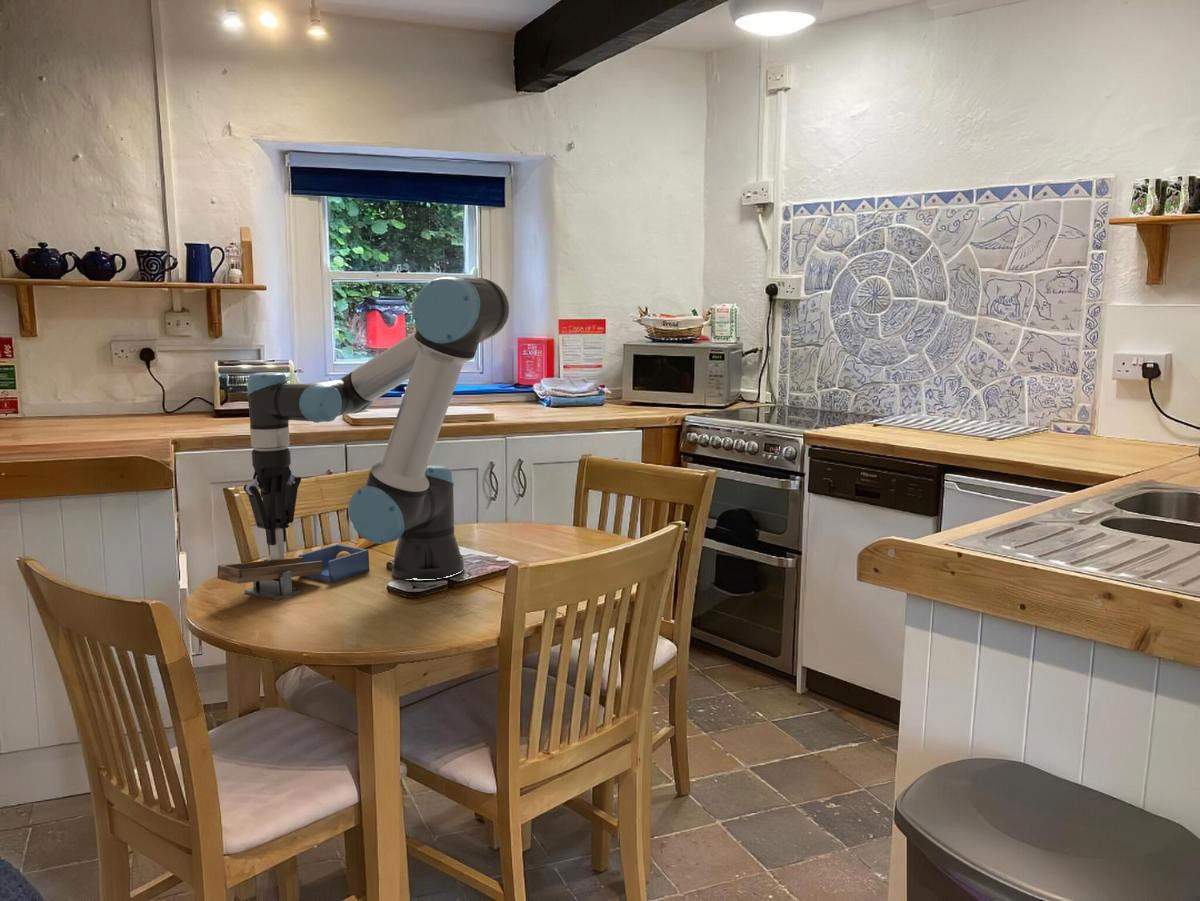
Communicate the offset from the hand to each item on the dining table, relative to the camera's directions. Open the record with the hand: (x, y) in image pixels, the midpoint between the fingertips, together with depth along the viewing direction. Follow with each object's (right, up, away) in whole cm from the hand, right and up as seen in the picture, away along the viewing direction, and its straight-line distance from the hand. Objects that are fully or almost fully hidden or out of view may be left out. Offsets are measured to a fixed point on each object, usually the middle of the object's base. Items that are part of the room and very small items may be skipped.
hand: (277, 558), depth 198 cm
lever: (0, -2, -9) cm, 9 cm away
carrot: (+13, 0, +27) cm, 30 cm away
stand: (+3, -6, -10) cm, 12 cm away
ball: (+13, -1, +5) cm, 14 cm away
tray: (+11, -3, +3) cm, 12 cm away
